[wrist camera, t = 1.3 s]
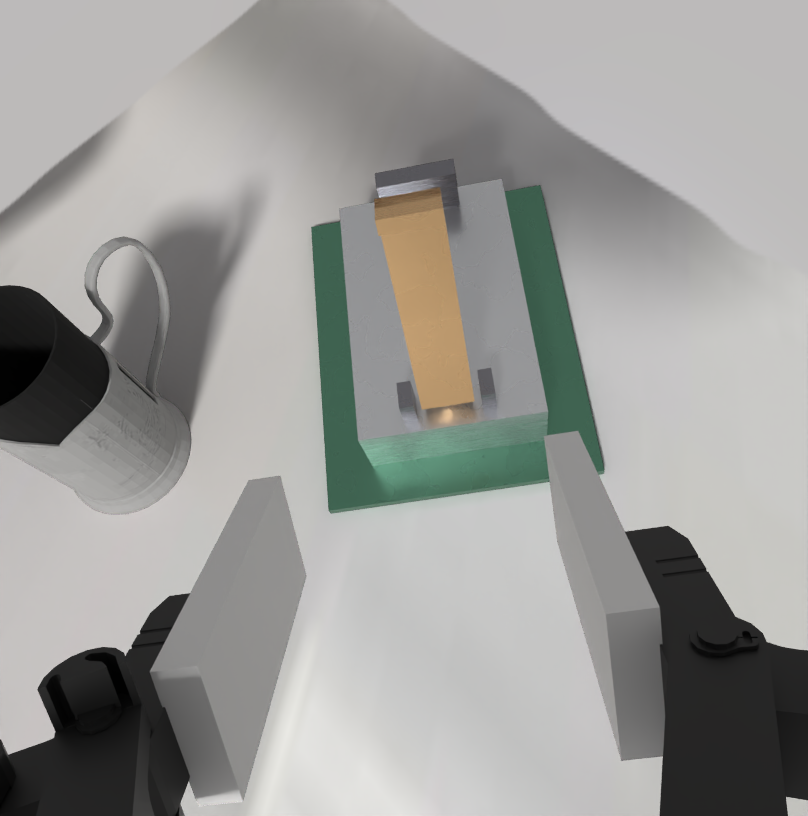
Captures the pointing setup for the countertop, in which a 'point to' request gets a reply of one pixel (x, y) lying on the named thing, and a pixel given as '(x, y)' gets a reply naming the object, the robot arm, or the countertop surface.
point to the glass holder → (87, 400)
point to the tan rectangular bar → (426, 294)
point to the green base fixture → (485, 344)
